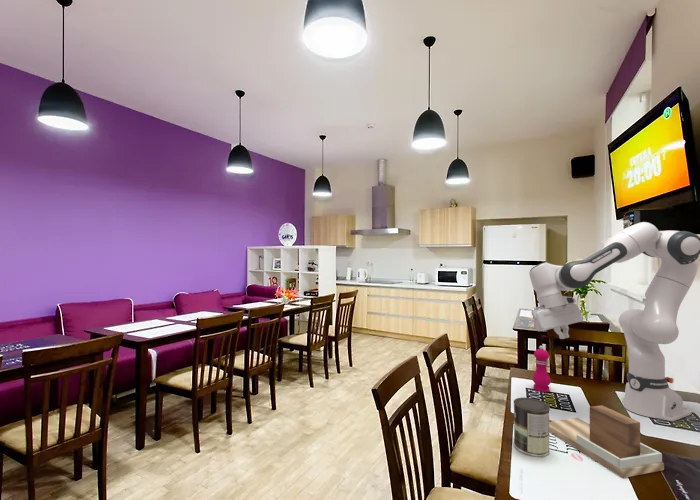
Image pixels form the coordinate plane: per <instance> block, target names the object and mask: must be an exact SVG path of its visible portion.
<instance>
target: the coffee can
mask: <svg viewBox="0 0 700 500" xmlns="http://www.w3.org/2000/svg"><path fill="white" fill-rule="evenodd" d="M550 411H551V407H550V405H549V404H548V403H546V402H544V400H541V399H537V398H532V397H517V398H515V399H514V400H513V447H515V449H516V450H518V451H519V452H520V453H522V454H525V455H527V456H531V457H538V458H541V457H547V456H548V455H549V454H550V432H549V422H550Z"/></svg>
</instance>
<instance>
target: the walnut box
mask: <svg viewBox="0 0 700 500" xmlns="http://www.w3.org/2000/svg"><path fill="white" fill-rule="evenodd" d="M589 424H590V441H591V442H593V443H594V444H596V445H598V446H599V447H601V448H603V449H605V450H606V451H608V452H610V453H612V454H613V455H615V456H617V457H619V458H620V459H621V458H627V457H633V456H639V455H640V443H641V422H640V421H638V420H636V419H634V418H632V417H629V416H628V415H624V414H622V413H620V412H618V411H615V410H613V409H611V408H609V407H607V406H605V405H594V406H593V405H592V406H589Z"/></svg>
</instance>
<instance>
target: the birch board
mask: <svg viewBox="0 0 700 500" xmlns="http://www.w3.org/2000/svg"><path fill="white" fill-rule="evenodd" d="M549 434H551V435H553V436H555V437H557V438H558V439H560V440H561V441H563V442H565V443H566V444H568V445H569V446H571V447H573V448H574V449H576V450H578V451H579V452H581V453H582V454H584V455H585V456H587V457H589V458H590V459H592V460H593V461H595V462H596V463H598V464H599V465H602V466H603V467H605V468H606V469H608V470H610V471H611V472H613V473H614V474H616V475H618V476H619V477H621V478H622V479H624V478H625V479H626V478H629V477H636V476H639V475H645V474H650V473H656V472H660V471H662V472H663V471H664V470H665V463H664V462H663V461H662V462H660V463H655V464H649V465H644V466H638V467H633V468H627V469H622V470H621V469H619V468H618V467H616V466H614V465H613V464H611V463H609V462H608V461H606V460H604V459H603V458H601V457H599V456H598V455H596V454H594V453H593V452H591V451H589V450H588V449H586V448H584V447H583V446H581V445H580V444H578V443H577V435H580V436H582V437H584V438H586V439H587V440H589V441H590V423H588V422H586V421H584V420H582V419H581V418H579V417H576V418H575V417H573V418H567V419H559V420H552V421H550V420H549ZM640 455H644V454H643V453H641V452H640Z"/></svg>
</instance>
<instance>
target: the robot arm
mask: <svg viewBox="0 0 700 500" xmlns="http://www.w3.org/2000/svg"><path fill="white" fill-rule="evenodd" d="M601 246H602V247H601V249H600V250H598V251H596V252H595V253H593V254H591V255H590V256H588V257H586V258H584V259H580V260H579V259H578V260H572V261H568V262H566V263H565V264H564V265H557V264H552V263H550V262H547V261H544V262H541V263H539V264H536V265H535V266H533V267H531V269H529V272H528V273H529V277H530V282H531V285H532V288H533V290H534V291H535V293H536V299H537V301H538V304H539V306H534V307H533V308H532V310H531V315H532V320H533V324H534V328H535V330H536V331H537V332H544V331H549V330H552V329H553V331H554V333H556V335H558V338H559V339H560V340H564V339H568V338H570V334H569V330H570V327H569V325H573V324H577V323H580V322H582V321H583V317H584V316H583V314H582V312H581V309H580V307H579V306H578V305H577V304H576V298H575V297H572V296H566V295H563V294H562V291H573V290H576V289H581V288H585V287H586V286H587V285H589V283H591V281H592V280H593V278H594V277H595V276H596V275H597V273H599V272H601V271H602V270H604V269H606V268H608V267H609V266H612V265H613V264H615V263H616V264H620V263H621V264H622V263H624V262H627V261H630V260H631V259H634V258H636V257H638V256H639V255H641V254H643V255H645V256H647V257H650V258H657V259H660V263H661V264H660V267H659V269H658V270H657V272H656V273H655V275H654V276H653V278H652V280H651V282H650V284H649V285H648V287H647V289H645V292H644V296H645V304H644V308H643V310H642V309H627V310H624V311H623V312H621V314H620V315H619V317H618V323H619V326H620V327H621V328H622V331H623V335H624V338H625V343H626V347H627V353H628V371H627V372H626V373H627V374H626V378H627V379H626V380H627V381H628V382H625V383H626V384H625V387H624V388H625V390H624V396H623V397H624V398H622V403H623V408H625V409H626V410H628V411H629V412H632V413H634V414H638V415H641V416H644V417H648V418H653V419H660V420H665V421H670V422H675V421H677V420H680V419H684V418H685V417H688V416H690V415H692V411H691V410H690V409H687V408H686V407H684V404H683V398H682V397H681V395H680V394H678V393H677V392H676V391H674V390H673V389H672V388H670V385H669V384H674V381H675V380H674V378H673V377H669V376H666V372H665V371H666V359H665V356H664V353H663V352H662V350H661V349H660V345H668V344H671V343H673V342H675V341H676V340H677V339H678V337H679V333H680V331H679V327H678V325H677V319H678V312H679V310H680V306H681V304H682V303H683V300H684V299H685V297H686V295H687V294H688V292H689V290H690V289H691V286H692V285H693V282H694V281H695V277H696V275H697V272H698V268H699V265H698V263H697V262H696V260H697V259H698V258H699V256H700V236H699V235H697V234H696V233H693V232H690V231H686V230H681V231H680V230H671V229H670V230H659V229H658V228H657V227H656V225H654V224H652V223H651V222H647V221H642V222H641V221H640V222H638V223H635V224H633V225H629V226H627V227H625V228H623V229H621V230H620V231H618V232H616V233H614V234H613V235H611V236H610V237H609V238H607V239H606V240H605V241H603V243H602V245H601ZM561 330H562V331H561Z"/></svg>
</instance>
